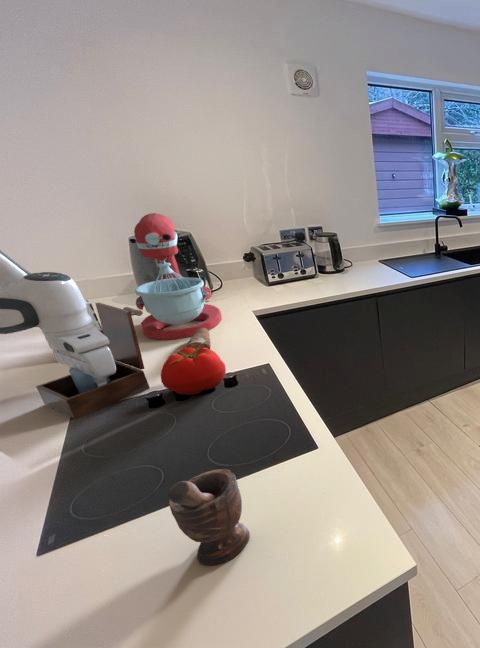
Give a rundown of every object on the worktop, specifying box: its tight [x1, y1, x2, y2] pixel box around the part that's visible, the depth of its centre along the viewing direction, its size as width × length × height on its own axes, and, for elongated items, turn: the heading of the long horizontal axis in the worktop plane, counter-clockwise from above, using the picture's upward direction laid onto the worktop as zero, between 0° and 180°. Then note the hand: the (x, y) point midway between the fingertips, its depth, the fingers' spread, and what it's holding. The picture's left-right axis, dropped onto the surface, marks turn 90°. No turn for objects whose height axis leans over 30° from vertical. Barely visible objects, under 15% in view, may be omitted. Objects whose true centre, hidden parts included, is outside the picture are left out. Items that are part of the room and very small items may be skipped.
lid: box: [94, 302, 145, 371], centre depth 110 cm, size 16×15×5 cm
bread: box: [185, 328, 212, 350], centre depth 134 cm, size 6×19×6 cm, turn 31°
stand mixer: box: [129, 212, 223, 341], centre depth 144 cm, size 24×32×40 cm
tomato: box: [160, 346, 227, 396], centre depth 110 cm, size 13×14×12 cm
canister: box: [68, 367, 112, 394], centre depth 104 cm, size 6×6×9 cm
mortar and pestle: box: [167, 468, 251, 566], centre depth 63 cm, size 12×9×20 cm
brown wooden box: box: [35, 360, 151, 420], centre depth 105 cm, size 16×15×6 cm
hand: (94, 383), depth 104 cm, fingers closed on canister, 6 cm apart
